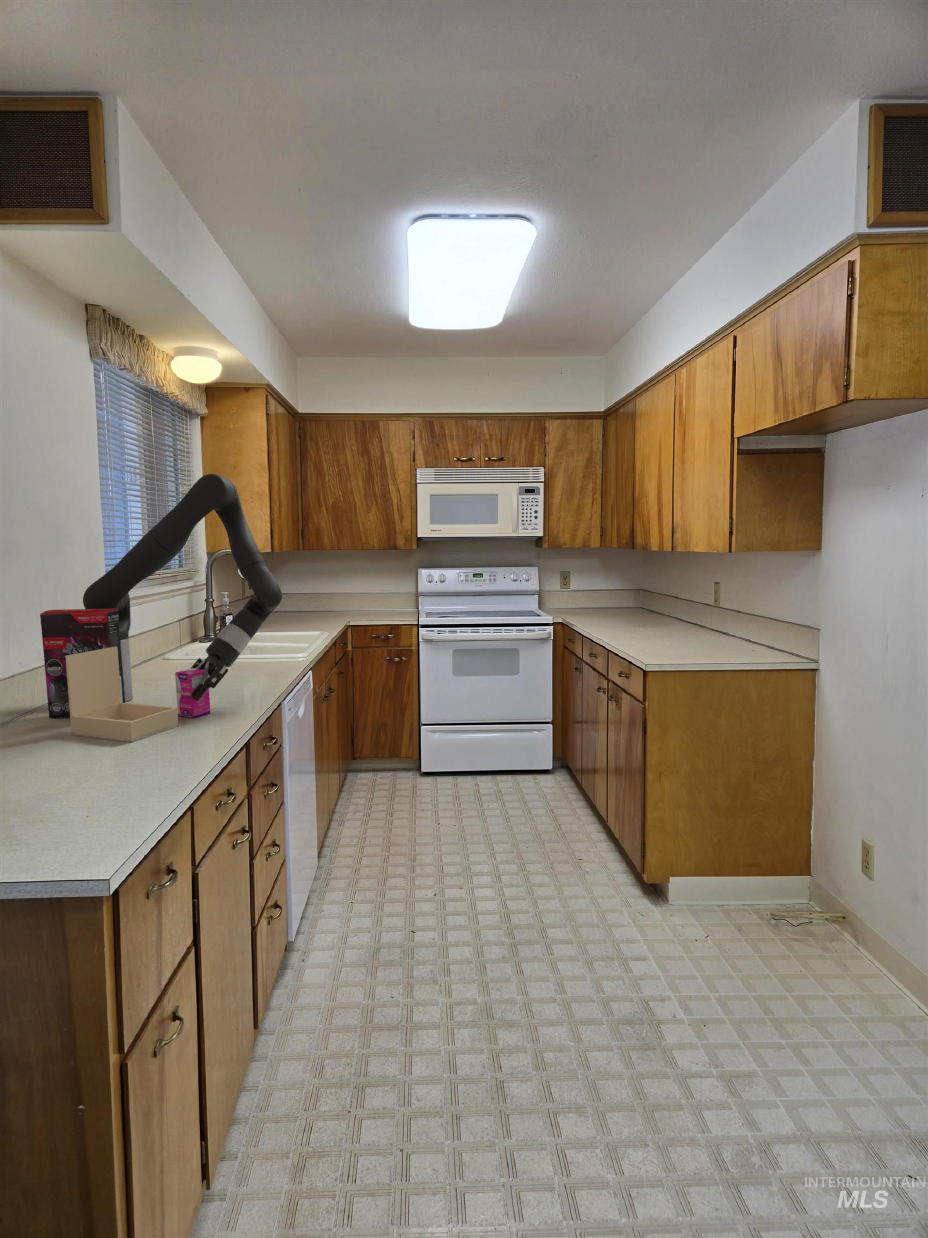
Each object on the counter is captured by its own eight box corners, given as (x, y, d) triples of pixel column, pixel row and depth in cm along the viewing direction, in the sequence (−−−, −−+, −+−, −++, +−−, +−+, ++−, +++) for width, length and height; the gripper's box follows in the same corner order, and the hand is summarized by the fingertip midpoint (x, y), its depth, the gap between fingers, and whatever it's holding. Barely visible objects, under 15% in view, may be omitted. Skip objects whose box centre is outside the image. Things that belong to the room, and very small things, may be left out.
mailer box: (71, 735, 161) (65, 655, 159) (120, 720, 174) (115, 646, 172) (132, 742, 155) (126, 659, 153) (178, 726, 168) (173, 649, 166)
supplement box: (176, 716, 177) (174, 671, 176) (195, 711, 183) (193, 667, 181) (193, 718, 175) (190, 673, 173) (211, 713, 180) (209, 669, 179)
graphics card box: (46, 719, 176) (37, 611, 173) (61, 713, 183) (52, 608, 180) (115, 718, 176) (107, 610, 173) (127, 711, 183) (120, 607, 180)
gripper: (206, 633, 187) (164, 683, 180) (231, 638, 177) (188, 692, 170) (226, 651, 191) (186, 700, 184) (251, 657, 181) (210, 709, 174)
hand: (187, 696), depth 177 cm, fingers closed on supplement box, 7 cm apart
